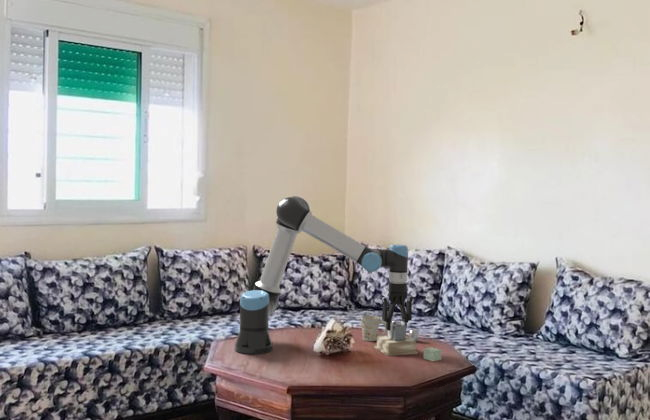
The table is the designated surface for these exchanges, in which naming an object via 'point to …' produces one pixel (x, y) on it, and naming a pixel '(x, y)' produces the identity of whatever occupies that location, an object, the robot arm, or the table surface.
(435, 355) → the sage block
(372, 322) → the mug
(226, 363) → the table surface
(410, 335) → the grey bushing
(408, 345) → the plinth
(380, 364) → the table surface
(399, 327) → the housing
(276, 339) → the table surface
